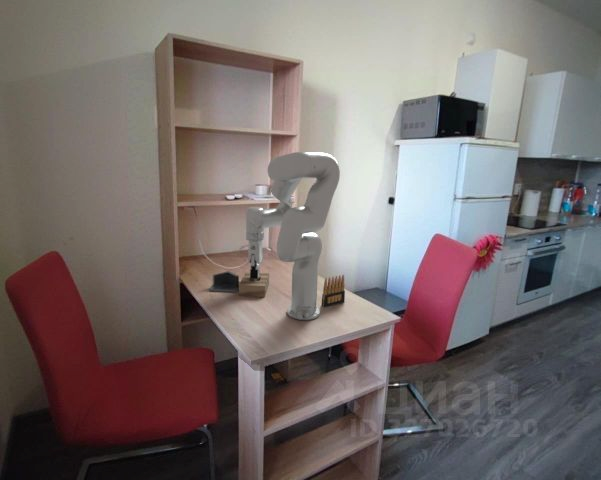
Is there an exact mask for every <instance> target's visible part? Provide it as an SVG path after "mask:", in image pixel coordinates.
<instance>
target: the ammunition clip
mask: <svg viewBox="0 0 601 480" xmlns="http://www.w3.org/2000/svg"><path fill="white" fill-rule="evenodd" d="M334 277H335V278H334ZM322 292H323V293H322V296H321V297H322V298H321V305H320V306H321V307H324V308H327V307H331V306H334V305H338V304H342V303H343V304H344V303H345V301H346V300H345V299H346V297H345V296H346V295H345V293H346V292H345V275H344V274H342V276H341V274H340V275H339V276H337V275H336V276H332V277H330V276H329V277H328V278H327V277H325V278H324V284H323V290H322Z"/></svg>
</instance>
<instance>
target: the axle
mask: <svg viewBox="0 0 601 480" xmlns="http://www.w3.org/2000/svg"><path fill="white" fill-rule="evenodd" d="M255 266H256V264H255ZM257 270H258V278H257V279H253V278H251V281H259V273H260V263H259V264H258V263H257Z"/></svg>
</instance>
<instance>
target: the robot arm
mask: <svg viewBox="0 0 601 480" xmlns="http://www.w3.org/2000/svg"><path fill="white" fill-rule="evenodd" d="M267 176H268V178H269V179H270V180H271V181H273V183H272V185H271V186H270V193H271V195H272V196H273V197H274V198H275V199H277V200H278V201H279V203H278V205H277V206H276V207H274V208H265V209H264V208H263V207H260V206H249V207H247V208H246V210H245V240H246V241H248V247H247V248H248V250H247V251H248V257H247V258H248V259H247V260H248V263H249V264H250V270H249V271H250V272H249V273H250V278H253V279H257V278H258V270H257V263H258V264H259V265H260V264H261V263H262V260H263V241H264V240H265V229H267V228H273V227H279V226H280V230H279V233H278V236H277V241H276V253H277V256H278V258H279V260H280V261H282V262H283V263H293V265H292V271H291V273H292V274H291V275H292V276H291V303H290V306H289V307H287V309H286V314H287V315H288V316H289V317H290V318H291V319H295V320H299V321H309V320H314V319H317V318H318V317H320V315H321V310H320V308H319V307H318V306H317V300H318V299H317V297H318V281H319V280H318V279H319V264H320V258H321V253H322V249H323V248H322V247H323V243H322V239H321V237H320V236H319V235H318V234H317V232H319V231H322V230H323V228H324V227H325V224H326V221H327V218H328V215H329V211H330V208H331V206H332V205H331V204H332V200H333V197H334V195H335V193H336V190H337V187H338V184H339V182H340V178H341V177H340V176H341V170H340V166H339V164H338V161H337V159H336V158H335V157H333V155H331V154H329V153H325V152H317V151H316V152H313V151H312V152H311V151H310V152H309V151H296V152H291V153H287V154H283V155H278V156H276V157H273V158H272V159H271V160H270V161H269V163H268V165H267ZM302 179H315V182H313V184H312V185H311V187H310V188H309V190H308V191H307V192H308V193H307V195H306V200H305V202H304V204H303V205H301V206H294V207H293V202H292V196H293V195H294V192H295V191H296V189H297V188H298V186H299V184H301V183H300V182H301V181H302ZM255 264H256V266H255Z"/></svg>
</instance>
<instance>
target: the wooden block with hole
mask: <svg viewBox="0 0 601 480" xmlns="http://www.w3.org/2000/svg"><path fill="white" fill-rule="evenodd" d="M239 282H240V284H239V290H238V296H239V297H255V298H266V294H267V292H268V288H269V286H270V273H269V272H268V273H266V272H265V273H264V272H259V281H251V278H250V272H244V275H243V277H242V278H241V280H240V281H239Z"/></svg>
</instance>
